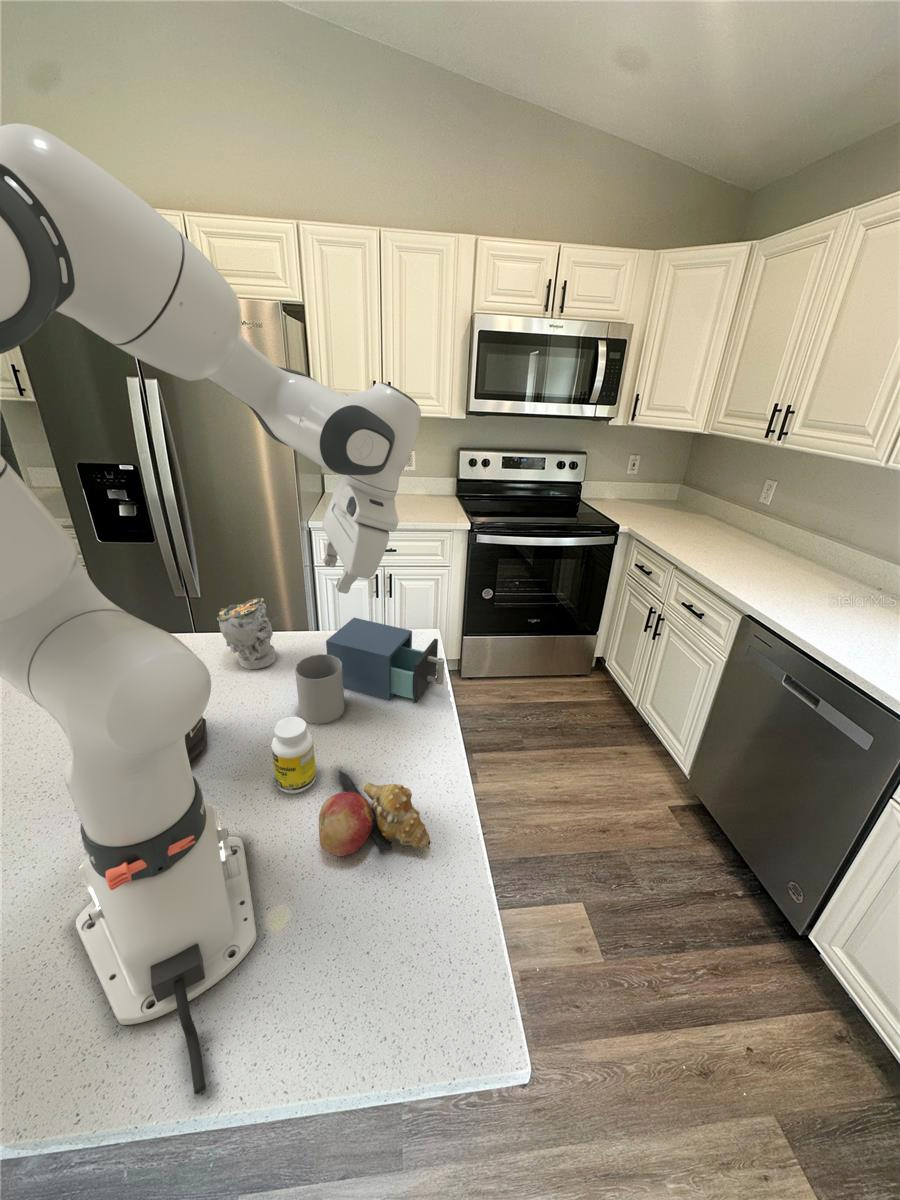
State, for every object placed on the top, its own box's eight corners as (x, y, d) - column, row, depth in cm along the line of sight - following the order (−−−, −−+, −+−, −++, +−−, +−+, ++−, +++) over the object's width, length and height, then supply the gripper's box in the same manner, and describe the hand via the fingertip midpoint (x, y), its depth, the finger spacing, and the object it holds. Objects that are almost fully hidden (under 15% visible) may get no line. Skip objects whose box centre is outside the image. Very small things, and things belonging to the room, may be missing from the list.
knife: (399, 843, 68) (380, 852, 66) (398, 848, 68) (379, 856, 67) (346, 765, 81) (329, 770, 80) (346, 769, 82) (329, 774, 80)
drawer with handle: (451, 679, 104) (453, 642, 100) (432, 708, 95) (434, 669, 91) (380, 661, 109) (379, 625, 105) (356, 687, 100) (354, 649, 96)
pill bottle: (268, 785, 77) (259, 731, 73) (296, 760, 82) (289, 708, 78) (297, 801, 75) (290, 746, 70) (324, 774, 80) (320, 721, 75)
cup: (349, 698, 98) (347, 656, 94) (337, 725, 91) (334, 681, 86) (308, 694, 99) (304, 652, 94) (293, 721, 91) (287, 676, 87)
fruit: (336, 772, 68) (345, 820, 62) (377, 787, 73) (389, 833, 66) (302, 808, 70) (307, 859, 63) (344, 821, 74) (353, 870, 67)
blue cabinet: (411, 672, 108) (412, 630, 103) (389, 700, 98) (388, 656, 94) (355, 657, 112) (353, 617, 107) (329, 683, 102) (325, 640, 98)
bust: (291, 662, 106) (267, 601, 101) (241, 683, 102) (214, 620, 96) (282, 648, 115) (259, 591, 110) (236, 666, 111) (211, 608, 106)
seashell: (379, 839, 74) (441, 837, 72) (354, 859, 67) (422, 858, 64) (374, 776, 76) (434, 772, 73) (349, 788, 68) (415, 784, 66)
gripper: (328, 472, 81) (304, 547, 85) (361, 514, 65) (329, 604, 69) (364, 484, 84) (338, 555, 88) (403, 526, 68) (369, 611, 72)
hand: (334, 577), depth 79 cm, fingers open, 8 cm apart
